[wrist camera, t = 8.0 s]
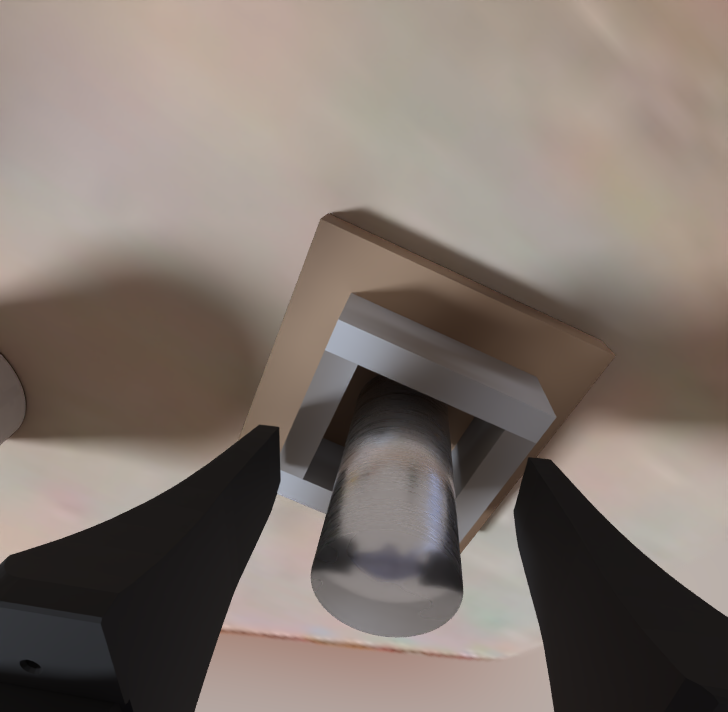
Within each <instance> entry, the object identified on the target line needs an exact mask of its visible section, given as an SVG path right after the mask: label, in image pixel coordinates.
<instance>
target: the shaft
mask: <svg viewBox="0 0 728 712" xmlns="http://www.w3.org/2000/svg"><path fill="white" fill-rule="evenodd" d="M311 583H312V588H313V591H314V593H315V595H316V597H317V599H318V600H319V602H320V603H321V604H322V606H323V607H324V608H325V609H326V610H327V611H328V612H329V613H330V614H331V615H332V616H334V617H335V618H336V619H338V620H339V621H341V622H342V623H344V624H346V625H348V626H350V627H352V628H354V629H357V630H359V631H362V632H366V633H369V634H373V635H378V636H385V637H409V636H416V635H420V634H424V633H427V632H430V631H433V630H435V629H437V628H439V627H440V626H442V625H444V624H445V623H446V622H448V621H449V620H450V619H451V618H452V617H453V616H454V615H455V613H456V612H457V610H458V609H459V607H460V604H461V602H462V598H463V580H462V569H461V557H460V545H459V534H458V522H457V511H456V499H455V487H454V476H453V464H452V452H451V441H450V429H449V417H448V407H447V404H446V403H444V402H441V401H439V400H437V399H435V398H432V397H430V396H428V395H426V394H423V393H421V392H419V391H416V390H414V389H412V388H410V387H407V386H405V385H403V384H401V383H398V382H396V381H394V380H392V379H389V378H387V377H385V376H383V375H378V376H376V377H375V378H373V379H372V380H370V381H369V382H368V383H367V384H366V385H365V386H364V387H363V389H362V390H361V392H360V394H359V396H358V399H357V403H356V407H355V410H354V414H353V418H352V421H351V425H350V429H349V432H348V436H347V440H346V443H345V447H344V451H343V455H342V458H341V462H340V466H339V469H338V473H337V477H336V480H335V484H334V488H333V491H332V495H331V499H330V502H329V506H328V510H327V514H326V517H325V521H324V525H323V528H322V532H321V536H320V539H319V543H318V547H317V550H316V554H315V558H314V561H313V565H312V570H311Z"/></svg>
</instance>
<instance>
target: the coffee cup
mask: <svg viewBox="0 0 728 712" xmlns="http://www.w3.org/2000/svg"><path fill="white" fill-rule="evenodd" d="M25 411H26V402H25V396H24V392H23V388H22V386H21V383H20V381H19V379H18V377H17V375H16V373H15V372H14V370H13V369H12V367H11V366H10V364H9V363H8V362H7V361H6V359H5V358H4V357H3V356H2V355H1V354H0V445H1V444H2V443H3V442H4V441H5V440H6V439H7V438H8V437H10V436H11V435H12V434H13V433H14V432H15V431H16V430H17V429H18V428H19V427H20V425H21V424H22V422H23V420H24V416H25Z"/></svg>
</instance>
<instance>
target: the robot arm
mask: <svg viewBox="0 0 728 712" xmlns="http://www.w3.org/2000/svg"><path fill="white" fill-rule="evenodd" d="M280 482H281V470H280V433H279V427H277V426H269V425H260V424H259V425H258V426H257V427H255V428H254V429H253V430H251V431H250V432H249V433H247V434H246V435H245V436H244V437H242V438H241V439H240V440H239V441H237V442H236V443H235V444H234V445H232V446H231V447H230V448H228V449H227V450H226V451H225V452H223V453H222V454H221V455H219V456H218V457H217V458H215V459H214V460H213V461H211V462H210V463H209V464H207V465H206V466H204V467H203V468H201V469H200V470H198V471H197V472H195V473H194V474H192V475H191V476H189V477H188V478H187V479H185V480H184V481H182V482H180V483H179V484H177V485H175V486H174V487H172V488H170V489H169V490H167V491H165V492H164V493H162V494H160V495H158V496H156V497H155V498H153V499H151V500H149V501H147V502H145V503H143V504H141V505H139V506H137V507H135V508H133V509H131V510H129V511H127V512H125V513H123V514H120V515H118V516H116V517H114V518H112V519H110V520H108V521H105V522H103V523H100V524H98V525H96V526H93V527H91V528H88V529H86V530H83V531H81V532H78V533H75V534H73V535H70V536H67V537H65V538H62V539H59V540H56V541H53V542H50V543H47V544H44V545H41V546H38V547H35V548H31V549H28V550H25V551H22V552H19V553H16V554H12V555H10V556H8V557H7V558H6V559H5V560H4V561H3V562H2V563H1V564H0V712H194V711H195V708H196V705H197V702H198V698H199V695H200V692H201V689H202V686H203V682H204V679H205V676H206V673H207V669H208V667H209V664H210V661H211V658H212V655H213V652H214V649H215V646H216V643H217V640H218V637H219V634H220V631H221V628H222V625H223V622H224V619H225V617H226V614H227V611H228V608H229V605H230V602H231V600H232V597H233V594H234V592H235V589H236V587H237V585H238V582H239V580H240V578H241V575H242V573H243V571H244V569H245V567H246V565H247V563H248V561H249V558H250V556H251V554H252V552H253V550H254V548H255V546H256V543H257V541H258V539H259V537H260V535H261V533H262V531H263V528H264V526H265V524H266V522H267V520H268V517H269V515H270V513H271V510H272V507H273V504H274V501H275V498H276V495H277V492H278V489H279V485H280ZM514 519H515V528H516V535H517V542H518V548H519V551H520V555H521V559H522V563H523V567H524V571H525V574H526V578H527V582H528V585H529V589H530V593H531V597H532V600H533V604H534V608H535V611H536V615H537V619H538V622H539V626H540V631H541V635H542V640H543V644H544V650H545V656H546V662H547V668H548V674H549V680H550V686H551V693H552V699H553V706H554V712H728V617H727V616H725V615H723V614H722V613H721V612H719V611H718V610H716V609H715V608H713V607H712V606H711V605H709V604H708V603H706V602H705V601H704V600H702V599H701V598H700V597H698V596H696V595H695V594H694V593H693V592H691V591H690V590H688V589H687V588H686V587H684V586H683V585H682V584H680V583H679V582H678V581H677V580H675V579H674V578H673V577H671V576H670V575H669V574H668V573H666V572H665V571H664V570H663V569H661V568H660V567H659V566H658V565H657V564H655V563H654V562H653V561H652V560H651V559H649V558H648V557H647V556H646V555H645V554H643V553H642V552H641V551H640V550H639V549H638V548H637V547H635V546H634V545H633V544H632V543H631V542H630V541H629V540H628V539H627V538H626V537H625V536H624V535H622V534H621V533H620V532H619V531H618V530H617V529H616V528H615V527H614V526H613V525H612V524H611V523H610V522H609V521H608V520H607V519H606V518H605V517H604V516H603V515H602V514H601V513H600V512H599V511H598V510H597V509H596V508H595V507H594V506H593V505H592V504H591V503H590V502H589V501H588V500H587V498H586V497H585V496H584V495H583V494H582V493H581V492H580V491H579V490H578V489H577V488H576V487H575V485H574V484H573V483H572V482H571V481H570V480H569V479H568V478H567V477H566V476H565V475H564V473H563V472H562V471H561V470H560V469H559V468H558V467H557V466H556V465H555V464H554V463H553V462H552V461H551V460H549V459H541V458H532V457H528V460H527V464H526V468H525V471H524V475H523V479H522V482H521V486H520V490H519V494H518V497H517V501H516V505H515V508H514Z"/></svg>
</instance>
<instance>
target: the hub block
mask: <svg viewBox="0 0 728 712" xmlns="http://www.w3.org/2000/svg"><path fill="white" fill-rule="evenodd" d="M615 356H616V355H615V354H614V353H613V352H612V351H611V350H610V349H609V348H608V347H607V346H606V345H605V343H604V342H603V341H602V340H599V339H597V338H595V337H593V336H591V335H589V334H587V333H584V332H582V331H580V330H578V329H576V328H574V327H572V326H569V325H567V324H565V323H563V322H561V321H559V320H556V319H554V318H552V317H550V316H548V315H546V314H544V313H541V312H539V311H537V310H535V309H533V308H531V307H529V306H526V305H524V304H522V303H520V302H518V301H516V300H514V299H511V298H509V297H507V296H505V295H503V294H501V293H498V292H496V291H494V290H492V289H490V288H488V287H486V286H483V285H481V284H479V283H477V282H475V281H473V280H471V279H468V278H466V277H464V276H462V275H460V274H458V273H455V272H453V271H451V270H449V269H447V268H445V267H443V266H440V265H438V264H436V263H434V262H432V261H430V260H428V259H425V258H423V257H421V256H419V255H417V254H415V253H412V252H410V251H408V250H406V249H404V248H402V247H400V246H397V245H395V244H393V243H391V242H389V241H387V240H385V239H382V238H380V237H378V236H376V235H374V234H372V233H370V232H367V231H365V230H363V229H361V228H359V227H357V226H354V225H352V224H350V223H348V222H346V221H344V220H342V219H339V218H337V217H335V216H333V215H331V214H329V213H328V214H327V215H325V216H324V217H322V218H321V219H320V222H319V224H318V227H317V230H316V232H315V235H314V238H313V240H312V243H311V246H310V249H309V251H308V254H307V257H306V259H305V262H304V265H303V267H302V270H301V273H300V275H299V278H298V281H297V283H296V286H295V289H294V292H293V294H292V297H291V300H290V302H289V305H288V308H287V310H286V313H285V316H284V318H283V321H282V324H281V326H280V329H279V332H278V335H277V337H276V340H275V343H274V345H273V348H272V351H271V353H270V356H269V359H268V361H267V364H266V367H265V369H264V372H263V375H262V378H261V380H260V383H259V386H258V388H257V391H256V394H255V396H254V399H253V402H252V404H251V407H250V410H249V412H248V415H247V418H246V421H245V423H244V426H243V429H242V431H241V434H240V437H239V439H238V441H239V440H240V439H241V438H242V437H244V436H245V435H246V434H247V433H249V432H250V431H251V430H253V429H254V428H255V427H257V426H258V425H259V424H260V425H269V426H277V427H279V433H280V470H281V482H280V485H279V489H278V492H277V494H279V495H281V496H284V497H286V498H289V499H291V500H293V501H296V502H298V503H301V504H303V505H306V506H308V507H310V508H313V509H315V510H318V511H320V512H322V513H325V514H327V510H328V506H329V502H330V499H331V495H332V491H333V488H334V484H335V480H336V477H337V473H338V469H339V466H340V462H341V458H342V455H343V451H344V447H345V443H346V440H347V436H348V432H349V429H350V425H351V421H352V418H353V414H354V410H355V407H356V403H357V399H358V396H359V394H360V392H361V390H362V389H363V387H364V386H365V385H366V384H367V383H368V382H369V381H370V380H372V379H373V378H375V377H376V376H378V375H383V376H385V377H387V378H389V379H392V380H394V381H396V382H398V383H401V384H403V385H405V386H407V387H410V388H412V389H414V390H416V391H419V392H421V393H423V394H426V395H428V396H430V397H432V398H435V399H437V400H439V401H441V402H444V403H446V404H447V407H448V417H449V429H450V441H451V452H452V464H453V476H454V487H455V499H456V511H457V522H458V534H459V545H460V554H461V552H462V551H463V550H464V549H465V547H466V546H467V545H468V544H469V542H470V541H471V540H472V538H473V537H474V536H475V535H476V533H477V532H478V531H479V530H480V528H481V527H482V526H483V524H484V523H485V522H486V521H487V519H488V518H489V517H490V515H491V514H492V513H493V512H494V510H495V509H496V508H497V507H498V505H499V504H500V503H501V501H502V500H503V499H504V498H505V496H506V495H507V494H508V492H509V491H510V490H511V489H512V487H513V486H514V485H515V484H516V482H517V481H518V480H519V478H520V477H521V476H522V475H523V473H524V471H525V468H526V464H527V460H528V457H532V458H536V457H537V455H538V454H539V453H540V452H541V450H542V449H543V448H544V447H545V445H546V444H547V443H548V441H549V440H550V439H551V438H552V436H553V435H554V434H555V433H556V431H557V430H558V429H559V427H560V426H561V425H562V424H563V422H564V421H565V420H566V418H567V417H568V416H569V415H570V413H571V412H572V411H573V410H574V408H575V407H576V406H577V404H578V403H579V402H580V401H581V399H582V398H583V397H584V396H585V394H586V393H587V392H588V390H589V389H590V388H591V387H592V385H593V384H594V383H595V381H596V380H597V379H598V378H599V376H600V375H601V374H602V373H603V371H604V370H605V369H606V367H607V366H608V365H609V364H610V362H611V361H612V360H613V359H614V357H615Z"/></svg>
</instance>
